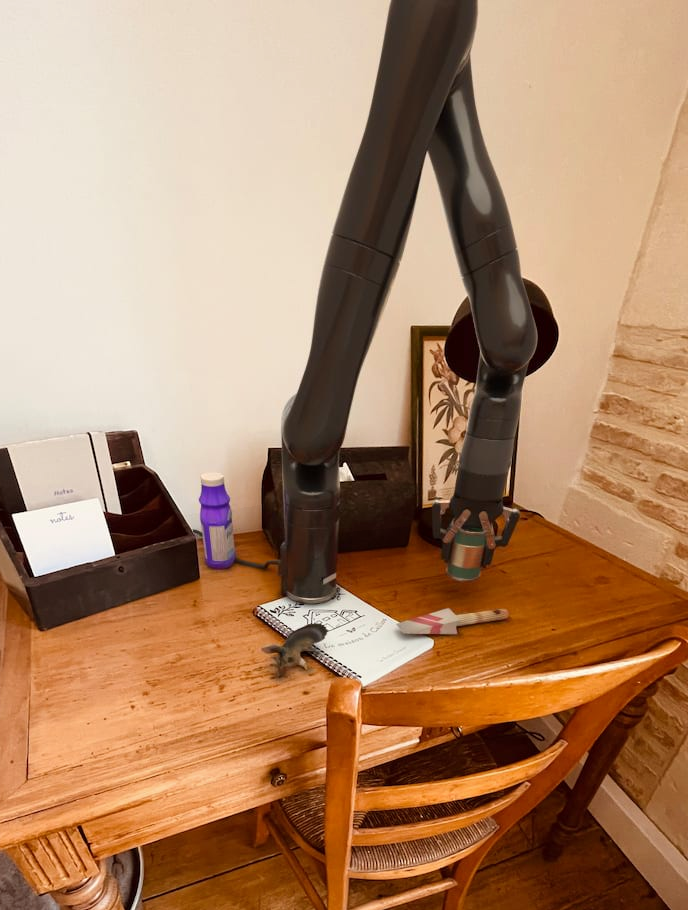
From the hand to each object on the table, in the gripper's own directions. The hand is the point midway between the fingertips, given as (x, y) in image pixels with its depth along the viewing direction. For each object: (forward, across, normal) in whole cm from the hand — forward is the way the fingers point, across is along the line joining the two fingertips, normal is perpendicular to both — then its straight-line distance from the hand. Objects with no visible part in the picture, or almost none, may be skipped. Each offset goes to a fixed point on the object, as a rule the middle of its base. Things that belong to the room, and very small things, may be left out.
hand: (464, 563), depth 89 cm
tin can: (+2, 0, 0) cm, 2 cm away
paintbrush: (+8, 0, +9) cm, 12 cm away
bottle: (+8, +46, 0) cm, 47 cm away
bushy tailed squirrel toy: (+8, +22, +26) cm, 35 cm away
